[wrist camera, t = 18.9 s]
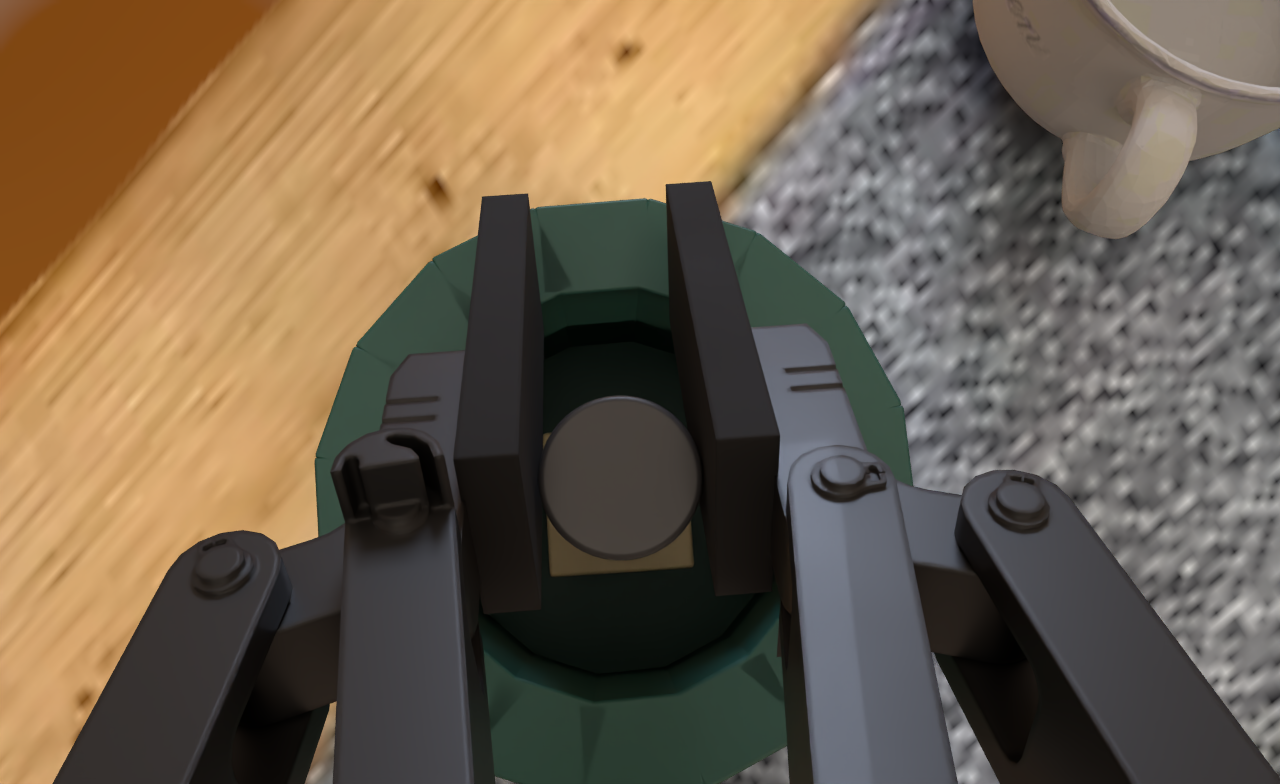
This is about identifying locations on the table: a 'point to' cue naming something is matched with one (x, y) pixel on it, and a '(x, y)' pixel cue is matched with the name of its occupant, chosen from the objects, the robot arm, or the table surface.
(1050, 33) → the teacup
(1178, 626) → the table surface
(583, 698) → the green plastic cup
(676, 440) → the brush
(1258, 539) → the table surface
